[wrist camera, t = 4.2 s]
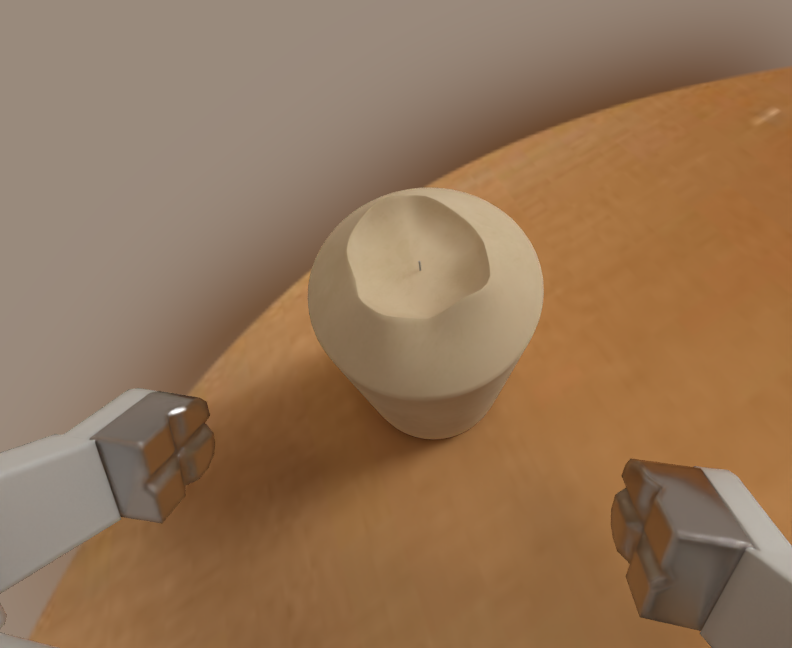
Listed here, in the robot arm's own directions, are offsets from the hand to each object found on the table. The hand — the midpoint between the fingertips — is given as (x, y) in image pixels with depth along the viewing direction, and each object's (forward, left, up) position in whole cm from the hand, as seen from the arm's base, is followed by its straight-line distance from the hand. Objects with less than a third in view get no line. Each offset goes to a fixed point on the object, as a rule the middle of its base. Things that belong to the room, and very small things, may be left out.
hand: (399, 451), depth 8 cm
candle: (+1, +4, -9) cm, 10 cm away
